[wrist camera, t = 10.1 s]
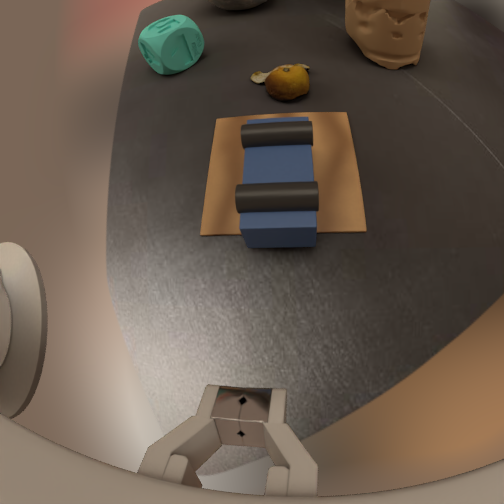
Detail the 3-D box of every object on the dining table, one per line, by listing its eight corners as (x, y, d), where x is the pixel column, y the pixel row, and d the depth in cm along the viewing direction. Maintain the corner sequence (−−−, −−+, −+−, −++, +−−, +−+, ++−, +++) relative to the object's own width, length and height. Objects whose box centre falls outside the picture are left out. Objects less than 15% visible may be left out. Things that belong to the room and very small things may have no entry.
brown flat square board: (201, 236, 30) (200, 234, 30) (217, 120, 36) (216, 118, 36) (366, 232, 28) (366, 230, 28) (346, 113, 34) (346, 112, 33)
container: (430, 55, 37) (446, -32, 20) (396, 79, 35) (412, -30, 19) (370, 26, 41) (372, -56, 25) (329, 46, 40) (324, -52, 23)
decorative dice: (169, 80, 42) (152, 42, 34) (148, 68, 45) (132, 34, 37) (209, 56, 43) (197, 17, 35) (185, 46, 46) (172, 12, 38)
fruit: (304, 64, 38) (302, 44, 35) (326, 96, 35) (326, 75, 32) (249, 76, 39) (244, 56, 35) (264, 110, 36) (260, 88, 32)
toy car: (232, 220, 23) (242, 109, 27) (247, 252, 29) (252, 150, 33) (320, 218, 22) (310, 105, 26) (317, 251, 28) (311, 148, 32)
